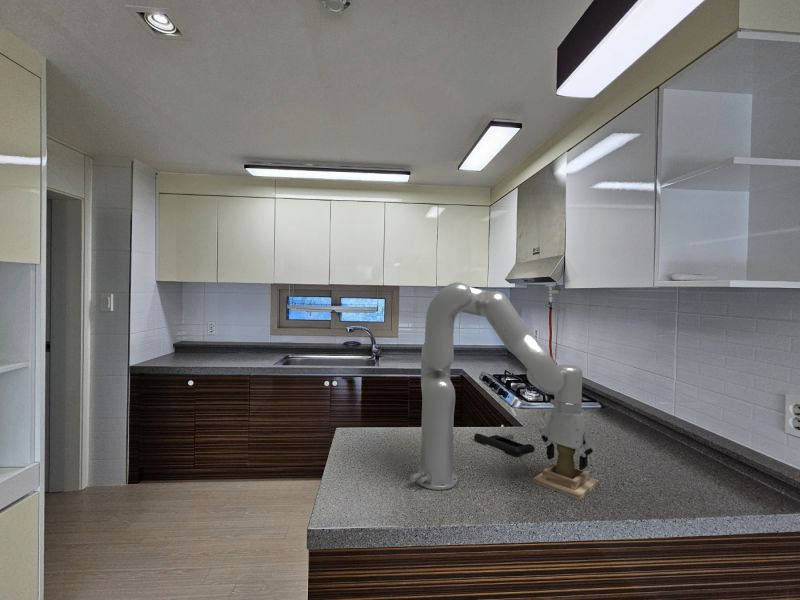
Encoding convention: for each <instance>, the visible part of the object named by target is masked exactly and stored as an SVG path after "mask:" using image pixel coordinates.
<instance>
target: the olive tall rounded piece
mask: <svg viewBox="0 0 800 600" xmlns="http://www.w3.org/2000/svg"><path fill="white" fill-rule="evenodd" d="M556 450H557V453H558V454H557V460H556V462H557V465H556V471H555V473H557V474H560V475H563V476H566V477H568V478H571V479H574V478H575V477H576V476H575V467H576V466H575V459H574V455H575V453H576V449H572V448H569V447H565V446H562V445H558V444H556Z"/></svg>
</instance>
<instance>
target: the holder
mask: <svg viewBox="0 0 800 600" xmlns="http://www.w3.org/2000/svg"><path fill="white" fill-rule="evenodd" d="M556 465H557V461H556V462H554V463H552V464H551V465H549V466H547V467H546V468H544V469H543V470H542V472H541V473H539V474H538V475H535V476H534V477H532V483H533V484H537V485H539V486H542V487H544V488H546V487H547V488H546V489H549V490H552V491H555V492H558V493H560V494H563V495H565V496H568V497H570V498H573V499H576V500H579V501H581V499H583V498H584V497H585V496H586V495H588V494H589V493H590V492H591V491H593V490H594V489H595V488H596V487H597V486H598V484H599V485H600V480H599V479H596V478H593V477H591V476H590V471H589V470H585V469H583V470H580V469H579V467H576V466H574V467H575V476H576V477H575V478H574V479H571V478H568V477H566V476H563V475H560V474H557V473H555V471H556ZM592 489H593V490H592Z"/></svg>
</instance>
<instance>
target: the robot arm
mask: <svg viewBox="0 0 800 600" xmlns="http://www.w3.org/2000/svg"><path fill="white" fill-rule="evenodd" d="M427 307H428V308H427V310H426V315H425V316H426V317H425V329H424V330H425V331H424V343H423V344H422V346H421V347H422V348H421V354H420V356H421V357H420V386H421V396H422V397H421V398H422V399H421V402H422V403H421V404H422V406H421V439H420V440H421V445H420V466H418V471H417V472H416V473H414V474H411V475H410V476H409V480H410V482H411V483H414V482H416V483H417V484H418V485H420V486H421V487H423V488H426V489H429V490H436V491H442V490H448V489H452V488H454V487H455V486H456V485H457V484H458V476H457V474H456V473H455V472H453V468H454V467H453V466H454V465H453V464H454V462H453V459H454V455H453V454H454V416H455V405H456V389H455V387H454V384H453V382H452V381H451V366H452V365H453V362H454V360H455V359H454V358H455V352H454V351H455V350H454V330H455V321H456V318H457V315H458V314H459V313H460V312H461V313H466V314H468V315H474V316H478V317H479V316H480V317H484V318H486V320H487V322H488V323H489V324H490V326H491V327H492V328H493V330H494V332H495V333H496V334H497V336H498V338H499V339H500V341H501V342H502V344H503V345H504V346H505V348H507V350H508V351H509V352H510V353H511V354H512V355H514V356H515V357H516V358H517V359H518V360H519V361H520V362H521V363H522V365H524V367H525V368H526V369H527V371H526V379H527V380H528V382H529V383H530V384H531V385H533V387H535V388H536V389H538V390H539V391H541V392H542V393H544V394H547V395H554V399H550V401H549V402H550V404H551V405H553V408H551V410H550V413H549V418H548V419H549V420H548V424H547V426H544V427H540V428H539V429H538V431H539V434H540V436H541V439H542V441H543V442H544V445H545V446H546V455H547V460H549V461H550V460H552V459H555V444H556V445H557V444H558V445H562V446H565V447H569V448H572V449H575V450H577V451H578V452H579V453H580V456H579V459H578V460H579V463H578V468H579V469H580V470H585V469H586V468H587V467H588V460H589V459H588V456H589V455H591V454H592V453H594V451H595V450H596V449H597V447H598V446H599V444H598V442H597V441H595V440H594V439H592V437H590V436H589V435H588V434H587V428H586V420H585V415H584V412H582V406H583V405H582V402H583V401H582V395H583V370H582V368H581V367H579V366H577V365H573V364H557V363H556V362H555V361H554V359H553V358H552V356H551V355H550V354H549V352H548V351H547V350H546V349H545V348H544V346H543V345H542V344H541V342H539V340H538V339H537V338H536V336H535V335H534V334H533V333H532V332H531V330H530V329H529V327H528V326H527V325H526V323H525V321H523V319H522V318H521V316H520V314H519V313H518V312H517V310H516V309H515V307H514V305H513V304H512V303H511V301H510V300H509V299H508V297H507V296H506V295H505V294H504V293H502V292H501V291H497V290H495V291H494V290H484V289H481V288H475V287H471V286H468V285H467V284H466V283H463V282H458V281H456V282H452V283H449V284H446V286H445V287H443V288H442V289H441V290H440V291H438V292H437V294H435V295H434V297H433V298H432V300H431V302H430V303H429V305H428V306H427ZM586 443H587V444H588V445H590V446H589V448H587V446H586Z"/></svg>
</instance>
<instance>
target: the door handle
mask: <svg viewBox="0 0 800 600" xmlns="http://www.w3.org/2000/svg"><path fill="white" fill-rule="evenodd" d="M514 437H515V435H513V434H506V435H501V436H500V435H498V434H495V435H492V436H491V435H490V436H486V435H484V434H482V433H478V432H475V433H474V436H473V439H474V440H475V441H477V442H478V443H480V444H483V445H485V447H488V448H490V449H493V450H496V451H497V452H501V453H502V454H505V453H506V454H509V455H511V456H512V457H513V456H514V457H516V458H517V457H520V456H521V455H524V454H528V453H532V452H534V451H535V446H534V445H532V444H531V443H526V444H523V443H520V442H518V441H514Z"/></svg>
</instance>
